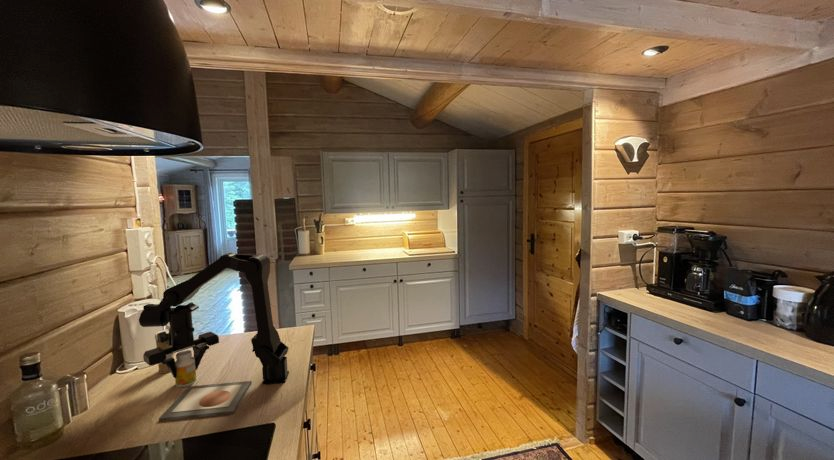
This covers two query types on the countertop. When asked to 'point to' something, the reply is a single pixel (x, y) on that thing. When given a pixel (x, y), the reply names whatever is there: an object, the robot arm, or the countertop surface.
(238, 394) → the grey bordered rectangular panel
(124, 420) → the countertop surface
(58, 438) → the countertop surface
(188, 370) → the supplement bottle
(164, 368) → the sprinkles bottle
